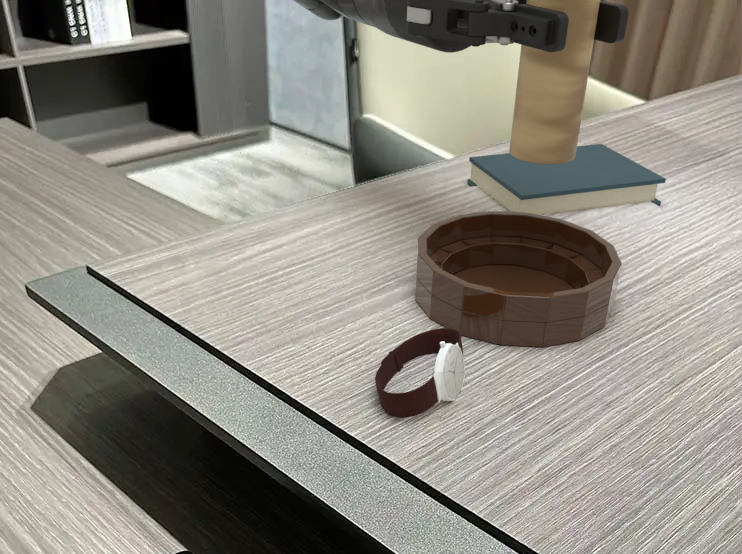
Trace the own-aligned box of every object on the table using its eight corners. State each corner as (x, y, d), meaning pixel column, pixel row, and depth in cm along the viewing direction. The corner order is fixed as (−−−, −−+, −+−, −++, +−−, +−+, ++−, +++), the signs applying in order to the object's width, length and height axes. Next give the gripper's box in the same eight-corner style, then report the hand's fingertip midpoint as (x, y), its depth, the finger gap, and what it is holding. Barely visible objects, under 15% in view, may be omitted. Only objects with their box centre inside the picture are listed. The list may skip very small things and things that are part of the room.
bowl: (546, 251, 64) (553, 203, 62) (649, 335, 53) (662, 280, 51) (387, 273, 60) (389, 223, 58) (463, 368, 49) (469, 310, 47)
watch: (433, 439, 43) (438, 382, 41) (354, 414, 45) (355, 359, 43) (480, 368, 49) (486, 315, 47) (408, 348, 51) (411, 297, 49)
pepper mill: (553, 140, 58) (587, -99, 50) (588, 161, 54) (630, -94, 46) (497, 146, 56) (523, -98, 49) (529, 167, 53) (562, -93, 45)
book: (597, 168, 80) (601, 143, 79) (660, 205, 72) (666, 178, 71) (466, 182, 76) (469, 157, 75) (518, 223, 68) (521, 195, 67)
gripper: (342, -61, 56) (511, -31, 44) (500, -70, 63) (685, -46, 50) (341, 52, 60) (496, 109, 47) (490, 32, 66) (660, 78, 54)
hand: (592, 29), depth 49 cm, fingers closed on pepper mill, 4 cm apart
